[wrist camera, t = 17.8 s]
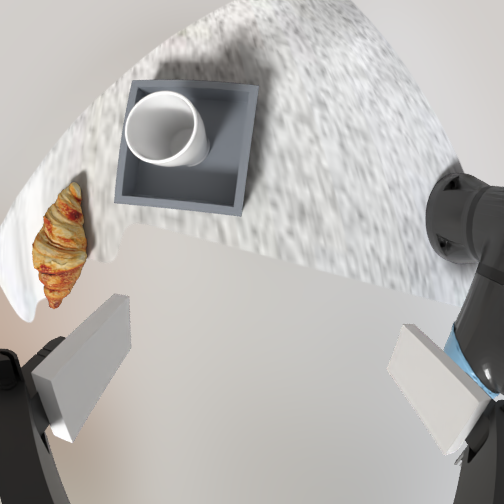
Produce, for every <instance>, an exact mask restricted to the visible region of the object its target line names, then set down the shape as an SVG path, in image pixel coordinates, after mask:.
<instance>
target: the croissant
mask: <svg viewBox="0 0 504 504" xmlns="http://www.w3.org/2000/svg"><path fill="white" fill-rule="evenodd" d="M81 200H82V198H81V189H80V187H79V185H78V184H77V183H76V182H73V183H71V184H70V185H69V186H68V187H66V189H65V190H64V189H63V190H62V192H61V193H60V194H59V195H58V199H57V200H56V202H55V204H52V206H50V207H49V208H48V210H47V212H46V214H45V216H44V217H43V218H44V224H43V227H42V229H41V230H40V232H39V233H38V234H37V236H36V238H35V240H34V243H33V244H32V245H33V251H32V254H33V265H34V268H35V269H37V270H38V272H39V280H40V281H41V282H42V283H43V284H44V285H45V286H44V293H45V296H46V297H47V299H48V301H49V307H50V308H53V309H55V308H58V307H59V305H60V304H61V302H62V299H63V298H64V297H66V296H67V295H68V294H69V293H70V292H71V289H72V288H73V286H74V284H75V283H76V280H77V279H78V278H79V276H80V274H81V270H82V267H83V265H84V263H85V262H86V259H87V254H86V248H87V239H86V238H85V233H84V228H83V227H82V226H83V224H84V219H83V214H82V210H81V206H80V204H81Z"/></svg>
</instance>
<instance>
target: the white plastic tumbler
mask: <svg viewBox="0 0 504 504" xmlns="http://www.w3.org/2000/svg"><path fill="white" fill-rule="evenodd" d="M125 137H126V141H127V144H128V146H129V148H130V150H131V151H132V152H133V154H134V155H136V156H137V157H138V158H140V159H141V160H143V161H146V162H148V163H151V164H154V165H158V166H164V167H176V166H188V167H189V166H195V165H198V164H200V163H201V162H202V161H204V159H205V158H206V157H207V155H208V153H209V150H210V142H209V138H208V136H207V134H206V129H205V125H204V122H203V119H202V117H201V115H200V113H199V112H198V110H197V109H196V107H195V106H194V105H193V104H192V103H191V102H190V100H188V99H187V98H186V97H185V96H183V95H182V94H180V93H177V92H173V91H158V92H154V93H151V94H149V95H147V96H145V97H144V98H142V99H141V100H140V101H139V102H138V103H137V104H136V105H135V106H134V107H133V109H132V110H131V112H130V113H129V116H128V118H127V121H126V125H125Z"/></svg>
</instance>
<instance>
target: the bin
mask: <svg viewBox="0 0 504 504" xmlns="http://www.w3.org/2000/svg"><path fill="white" fill-rule="evenodd" d="M258 90H259V86H257V85H249V84H240V83H229V82H217V81H200V80H132V84H131V89H130V94H129V98H128V103H127V108H126V114H125V119H124V125H123V131H122V138H121V145H120V152H119V159H118V168H117V177H116V187H115V199H114V203H118V204H129V205H140V206H151V207H161V208H171V209H180V210H189V211H199V212H207V213H216V214H225V215H233V216H241V215H242V208H243V201H244V193H245V185H246V178H247V170H248V163H249V155H250V148H251V140H252V133H253V126H254V119H255V112H256V105H257V98H258ZM158 91H173V92H177V93H180V94H182V95H183V96H185V97H186V98H187V99H188V100H190V102H191V103H192V104H193V105H194V106H195V107H196V109H197V110H198V112H199V113H200V115H201V117H202V119H203V122H204V125H205V129H206V134H207V136H208V138H209V142H210V150H209V153H208V155H207V157H206V158H205V159H204V161H202V162H201V163H200V164H198V165H195V166H189V167H188V166H176V167H164V166H158V165H154V164H151V163H148V162H146V161H143V160H141V159H140V158H138V157H137V156H136V155H134V154H133V152H132V151H131V150H130V148H129V146H128V144H127V141H126V137H125V125H126V121H127V118H128V116H129V113H130V112H131V110H132V109H133V107H134V106H135V105H136V104H137V103H138V102H139V101H140V100H141V99H142V98H144V97H145V96H147V95H149V94H151V93H154V92H158Z"/></svg>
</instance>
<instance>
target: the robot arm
mask: <svg viewBox="0 0 504 504" xmlns="http://www.w3.org/2000/svg"><path fill="white" fill-rule="evenodd" d="M426 229H427V234H428V238H429V241H430V243H431V245H432V247H433V249H434V250H435V252H436V253H437V254H438V255H439V256H440V257H442V258H444V259H446V260H448V261H450V262H453V263H458V264H464V263H474V262H479V265H478V268H477V271H476V273H475V276H474V278H473V281H472V284H471V286H470V289H469V292H468V294H467V297H466V299H465V302H464V304H463V306H462V309H461V311H460V313H459V315H458V317H457V320H456V321H455V322H454V324H453V326H452V331H451V333H450V335H449V338H448V340H447V342H446V345H445V347H444V351H443V350H442V349H440V348H439V347H438V346H437V345H436V344H435V343H434V342H433V341H432V340H431V339H430V338H429V337H428V336H426V335H425V334H424V333H423V332H422V331H421V330H420V329H419V328H418V327H417V326H416V325H414V324H403V325H402V328H401V331H400V334H399V337H398V340H397V343H396V345H395V348H394V351H393V354H392V356H391V359H390V362H389V364H388V367H387V371H388V373H389V374H390V376H391V377H392V378H393V380H394V381H395V382H396V384H397V386H398V387H399V388H400V390H401V391H402V393H403V394H404V396H405V397H406V399H407V400H408V402H409V403H410V405H411V406H412V408H413V409H414V410H415V412H416V413H417V415H418V416H419V418H420V419H421V421H422V422H423V424H424V425H425V427H426V428H427V430H428V431H429V433H430V435H431V436H432V438H433V439H434V441H435V442H436V444H437V445H438V447H439V448H440V450H441V452H442V453H443V454H444V455H447V454H450V453H453V452H456V451H458V449H459V448H460V446H461V445H462V444H463V442H464V441H466V442H467V444H468V446H467V447H466V448H465V450H464V451H463V452H462V454H461V455H460V456H459V458H458V459H457V460H456V462H455V465H457V463H458V462H459V461H460V460H462V463H461V464H460V466H461V472H460V477H459V481H458V486H457V491H456V495H455V499H454V503H453V504H504V400H498V401H497V402H495V401H494V400H493V398H495V397H496V396H498V395H499V393H501V394H503V395H504V187H498V186H490V185H488V184H486V183H484V182H483V181H481V180H479V179H477V178H476V177H474V176H472V175H469V174H464V173H454V174H449V175H447V176H445V177H444V178H442V179H441V180H440V181H439V182H438V183H437V184H436V186H435V187H434V189H433V191H432V193H431V195H430V198H429V201H428V204H427V210H426ZM130 349H131V335H130V306H129V296H125V295H119V294H113V295H112V296H111V297H110V298H109V299H108V300H107V301H106V302H104V304H102V305H101V306H100V307H99V308H98V309H97V310H96V311H95V312H94V313H92V314H91V315H90V316H89V317H88V318H87V319H86V320H85V321H84V322H83V323H82V324H81V325H79V327H77V328H76V329H75V330H74V331H73V332H72V333H71V334H70V335H69V336H68V337H67V338H65V337H61V336H60V337H58V338H55V339H53V340H51V341H49V342H48V343H47V344H46V345H45V346H44V347H43V349H41V350H40V351H39V352H37V355H34V356H33V357H32V358H31V359H30V360H29V361H28V362H27V363H26V364H25V365H24V366H23V367H22V368H21V367H20V364H19V360H18V357H17V355H16V354H15V353H14V352H13V351H11V350H8V349H0V498H1V502H2V504H70V502H69V500H68V497H67V495H66V492H65V490H64V487H63V484H62V482H61V479H60V477H59V474H58V471H57V468H56V465H55V462H54V459H53V456H52V452H51V449H50V445H49V442H48V438H47V436H46V433H45V430H46V428H47V427H48V425H49V424H50V427H51V429H52V431H53V434H54V435H55V436H57V437H60V438H62V439H64V440H67V441H69V442H71V443H73V442H74V440H75V438H76V437H77V435H78V433H79V431H80V430H81V428H82V426H83V424H84V423H85V421H86V420H87V418H88V416H89V414H90V413H91V411H92V410H93V408H94V406H95V405H96V403H97V401H98V400H99V398H100V396H101V395H102V393H103V392H104V390H105V388H106V387H107V385H108V383H109V382H110V380H111V379H112V377H113V376H114V374H115V372H116V371H117V369H118V368H119V366H120V364H121V363H122V361H123V360H124V358H125V357H126V355H127V354H128V352H129V351H130Z"/></svg>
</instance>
